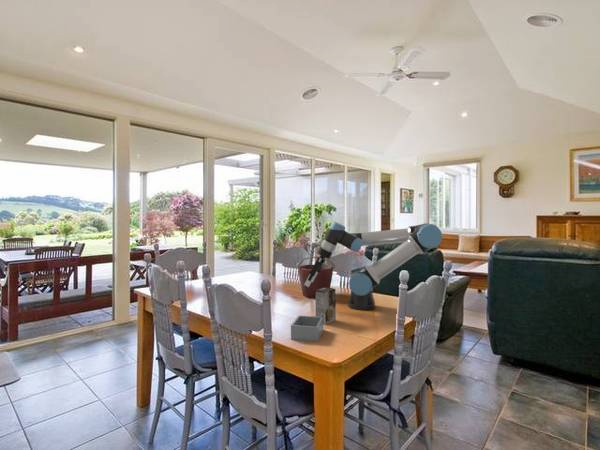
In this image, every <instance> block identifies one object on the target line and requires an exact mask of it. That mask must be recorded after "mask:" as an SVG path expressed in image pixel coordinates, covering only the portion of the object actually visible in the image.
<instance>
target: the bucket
mask: <svg viewBox="0 0 600 450" xmlns="http://www.w3.org/2000/svg"><path fill="white" fill-rule="evenodd" d="M318 257H319V256H308V257H303V258H301V259H300V262H297V263H296V264H295V265H296V267H297V268H298V271H297V272H298V277H299V281H300V287H301V292H302V295H303V296H304V297H305V298H307V299H315V290H318V289H321V288H324V287H329V288H331V285H332V280H333V279H332V278H333V274H334V268H336V265H335V263H334V262H333V261H331V260H329V259H328V258H325V259H324V260H325V261H326V262H329V263H330V264H331V265H329V264H322V265H321V268H320V272H318V273H317V275H316V277H315V279H314V281H313V282H311V284H310V286H309V287H307V286H306V285H304V284H305V282H306V280H307V278H308V276H309V272H311V270H312V269H313V267H314V265H315V264H303V265H301V264H302V263H303V261H304V260H308V259H317V258H318Z"/></svg>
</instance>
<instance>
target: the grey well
mask: <svg viewBox="0 0 600 450" xmlns="http://www.w3.org/2000/svg"><path fill="white" fill-rule="evenodd" d="M323 331H324V324H323V317H316V316H310V315H297V317H296V318H295V319H294V320H293V322H292V323H291V324H290V340H295V341H304V342H305V341H306V342H307V341H308V342H319V340H320V338H321V336H322V334H323Z"/></svg>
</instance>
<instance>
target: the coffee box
mask: <svg viewBox="0 0 600 450" xmlns="http://www.w3.org/2000/svg"><path fill="white" fill-rule="evenodd" d="M336 295H337V293H336V288H333V287H330V288H329V287H324V288H321V289H318V290H315V298H314V299H315V317H323V326H324V325H328V324H331V323H332V322H334V321H336V320H337V319H336V318H337V315H336V314H337V311H336V307H337V306H336V302H337V301H336V300H337V299H336V298H337V297H336Z"/></svg>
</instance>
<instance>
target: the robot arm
mask: <svg viewBox="0 0 600 450" xmlns="http://www.w3.org/2000/svg"><path fill="white" fill-rule="evenodd" d="M442 239H443V233H442V231H441V229H440V228H439V227H438V226H437V225H436V224H433V223H425V222H424V223H421V224H417V225H411V226H410V225H409V226H408V227H407V228H397V229H387V230H376V231H366V232H356V233H355V232H347V231H346V227H345V225H343V224H341V223H339V222H337V221H334V222H333V221H332V224H331V225H330V227H329V228H328V230H327V232H326V234H325V236H324V239H323V240H322V239H321V244H320V246H319V248H318V250H317V254H318V255H320V256H317V257H318V258H316V261H315V262H314V264H313V265H314V267H313V269H312V270H311V272H309V276H308V278H307V280H306V282H305V284H304V285H306V286H307V287H309V286H310V284H311V282H313V281H314V279H315V277H316V275H317V273H318V272H320V268H321V265H324V263H325V261H326V260H324V259H328V260H329V259H331V256H332V254H333V253H334V251H335V250H336V247H337V245H338V244H339V245H341V246H343V247H345V248H346V249H349V250H350V251H351V252H354V253H359V252H360V249H361V248H362V247H363V246H364V247H365V246H378V245H388V244H389V245H390V244H399V245H398V246H397V247H395V248H394V249H393V250H391V251H390V252H388V253H387V254H385V255H384V256H383V257H381V258H380V259H377V261H376V262H374V263H372V264H371V265H365V266H362V265H359V266H358V265H357V266H356V265H354V266H351V268H350V275H351V276H350V278H349V279H348V280H349V281H348V285H349V289H350V290H351V291H350V295H349V299H348V300H347V301H348V302H347V303H348V304H347V306H348V308H350V309H354V310H359V311H360V310H361V311H363V310H364V311H366V310H367V311H368V310H369V311H370V310H374V309H375V308H376V302H375V299H374V295H373V289H374V288H375V287H376V286H378V285H379V284H380V281H381V279H383V278H385V277H386V276H388V275H389V274H390V273H392V272H394V270H396V269H398V268H399V267H401V266H402V265H403V264H405V263H406V262H408V261H409V260H410V259H412V258H413V257H416V255H418V254H425V253H426V252H427V251H429V250H431V249H434V248H437V247H439V246H440V244H441V243H442Z"/></svg>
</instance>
